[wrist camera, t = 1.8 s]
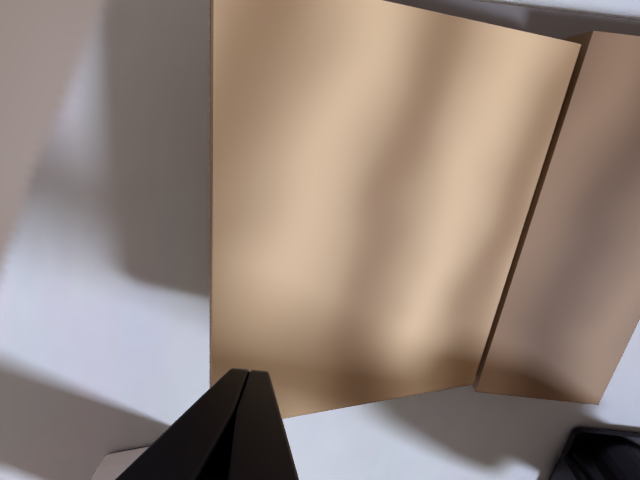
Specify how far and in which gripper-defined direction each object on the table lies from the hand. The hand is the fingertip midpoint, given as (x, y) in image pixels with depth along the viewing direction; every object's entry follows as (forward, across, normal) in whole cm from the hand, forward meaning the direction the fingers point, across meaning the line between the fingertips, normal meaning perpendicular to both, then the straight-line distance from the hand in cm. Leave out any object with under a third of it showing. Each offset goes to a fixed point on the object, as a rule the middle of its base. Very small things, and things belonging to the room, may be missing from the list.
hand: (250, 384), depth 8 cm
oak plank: (+9, -4, -1) cm, 10 cm away
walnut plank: (+12, -15, 0) cm, 19 cm away
